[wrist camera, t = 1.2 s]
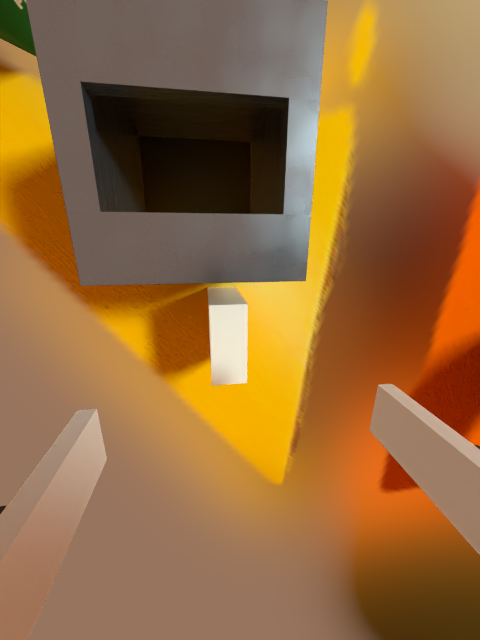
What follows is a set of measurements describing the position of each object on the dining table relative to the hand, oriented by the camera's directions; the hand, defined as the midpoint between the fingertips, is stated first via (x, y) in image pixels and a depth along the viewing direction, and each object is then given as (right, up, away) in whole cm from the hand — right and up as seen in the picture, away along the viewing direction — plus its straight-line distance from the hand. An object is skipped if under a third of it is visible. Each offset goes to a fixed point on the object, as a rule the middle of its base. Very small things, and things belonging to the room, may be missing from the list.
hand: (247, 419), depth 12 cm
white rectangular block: (-2, +5, +16) cm, 17 cm away
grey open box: (-4, +16, +12) cm, 21 cm away
